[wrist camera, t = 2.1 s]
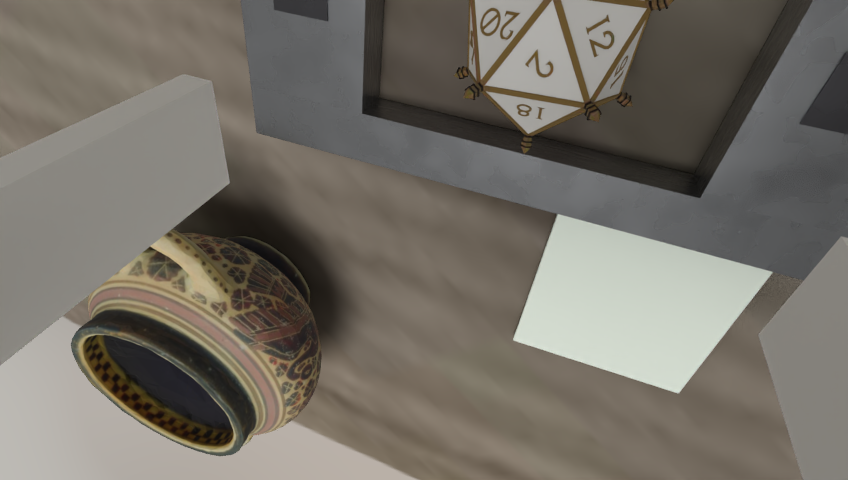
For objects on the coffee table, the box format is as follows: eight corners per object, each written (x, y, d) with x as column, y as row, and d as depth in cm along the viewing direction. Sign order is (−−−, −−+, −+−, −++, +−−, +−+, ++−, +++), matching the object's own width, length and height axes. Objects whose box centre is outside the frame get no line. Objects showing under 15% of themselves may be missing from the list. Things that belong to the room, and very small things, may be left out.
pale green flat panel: (772, 262, 27) (775, 269, 26) (677, 386, 34) (678, 393, 34) (559, 205, 29) (558, 211, 28) (514, 334, 36) (513, 340, 36)
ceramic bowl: (198, 118, 37) (-31, 198, 27) (380, 215, 32) (177, 366, 21) (231, 321, 53) (94, 421, 43) (357, 411, 47) (233, 553, 37)
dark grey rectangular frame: (1156, -185, 15) (1239, -195, 13) (802, 254, 26) (817, 285, 24) (244, -277, 20) (204, -294, 18) (278, 117, 32) (255, 133, 30)
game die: (536, 33, 27) (402, 119, 24) (565, -145, 20) (380, -55, 17) (671, 113, 23) (532, 226, 20) (766, -73, 16) (573, 59, 13)
